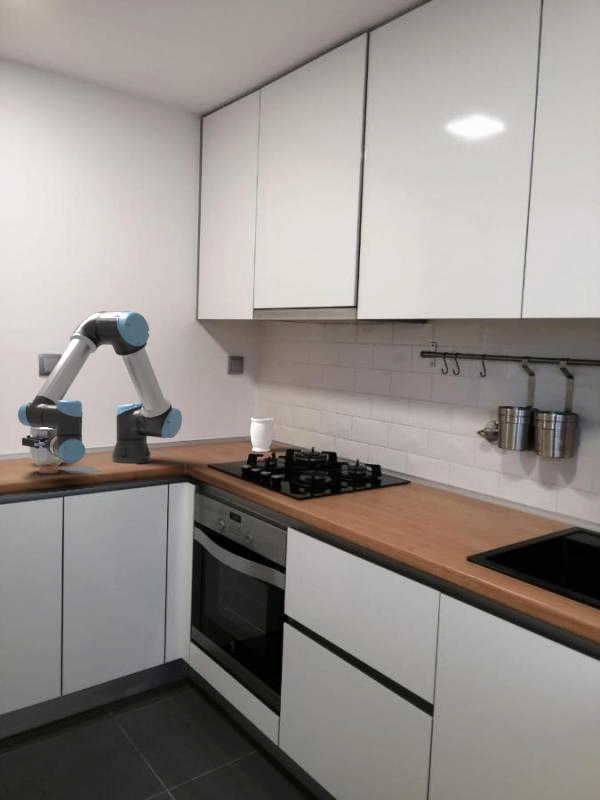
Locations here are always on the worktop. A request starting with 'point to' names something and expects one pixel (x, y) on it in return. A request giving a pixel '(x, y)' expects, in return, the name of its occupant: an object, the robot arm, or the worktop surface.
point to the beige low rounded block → (48, 468)
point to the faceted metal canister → (41, 452)
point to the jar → (261, 433)
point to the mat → (80, 469)
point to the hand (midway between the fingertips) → (45, 437)
